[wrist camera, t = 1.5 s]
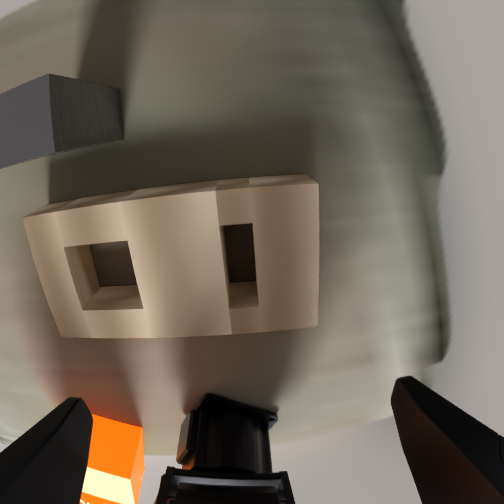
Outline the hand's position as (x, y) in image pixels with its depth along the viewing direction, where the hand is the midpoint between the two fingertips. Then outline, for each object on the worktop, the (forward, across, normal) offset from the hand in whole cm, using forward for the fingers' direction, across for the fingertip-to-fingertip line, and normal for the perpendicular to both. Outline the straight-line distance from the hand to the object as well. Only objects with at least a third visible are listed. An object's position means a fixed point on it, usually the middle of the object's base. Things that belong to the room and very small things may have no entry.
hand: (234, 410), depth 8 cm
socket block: (+12, +4, 0) cm, 13 cm away
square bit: (+12, +7, -9) cm, 17 cm away
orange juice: (+12, +15, +20) cm, 28 cm away
